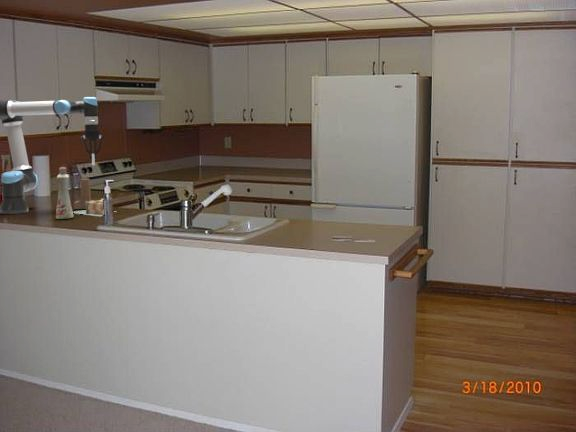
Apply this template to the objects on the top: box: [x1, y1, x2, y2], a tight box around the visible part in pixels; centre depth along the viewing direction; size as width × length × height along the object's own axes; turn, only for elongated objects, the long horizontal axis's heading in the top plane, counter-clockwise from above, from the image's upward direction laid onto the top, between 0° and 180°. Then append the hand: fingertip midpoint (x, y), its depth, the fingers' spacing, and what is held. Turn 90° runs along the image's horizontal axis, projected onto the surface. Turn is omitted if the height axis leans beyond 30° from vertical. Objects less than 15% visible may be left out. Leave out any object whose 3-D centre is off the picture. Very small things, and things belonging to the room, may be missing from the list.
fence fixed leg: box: [85, 201, 104, 215], centre depth 386 cm, size 14×2×8 cm, turn 56°
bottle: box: [55, 166, 74, 220], centre depth 373 cm, size 9×9×28 cm
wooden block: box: [73, 178, 92, 210], centre depth 410 cm, size 9×4×18 cm, turn 98°
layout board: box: [72, 210, 116, 218], centre depth 394 cm, size 17×28×1 cm, turn 56°
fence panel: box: [90, 198, 104, 203], centre depth 395 cm, size 12×1×7 cm, turn 151°
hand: (93, 165), depth 404 cm, fingers closed
